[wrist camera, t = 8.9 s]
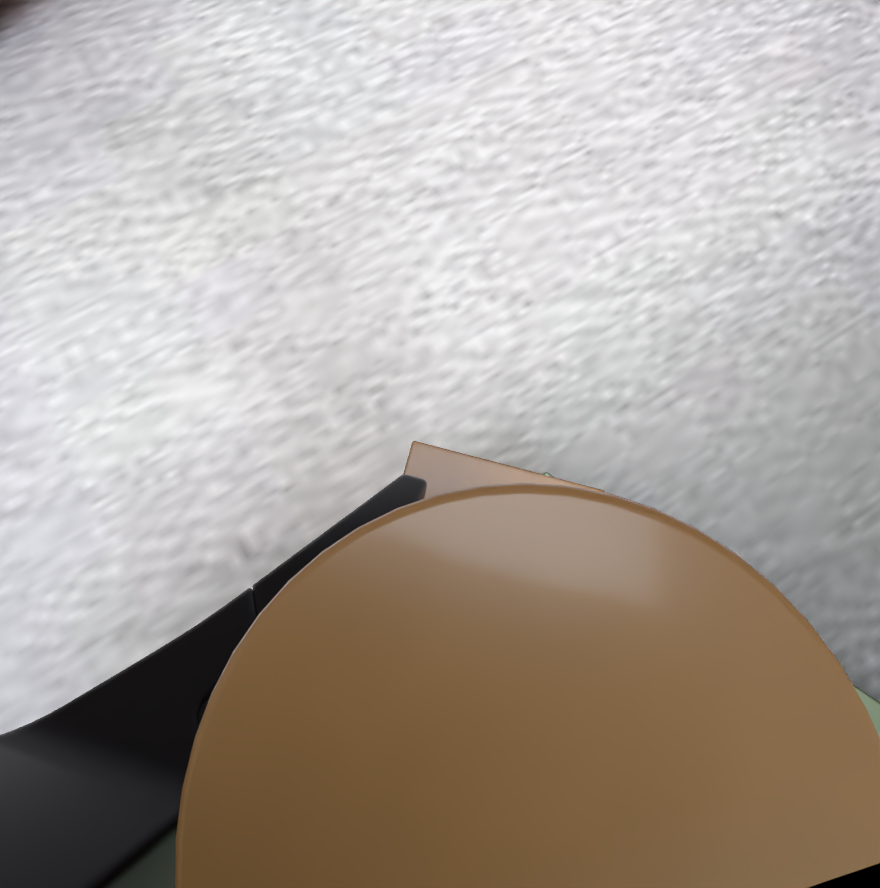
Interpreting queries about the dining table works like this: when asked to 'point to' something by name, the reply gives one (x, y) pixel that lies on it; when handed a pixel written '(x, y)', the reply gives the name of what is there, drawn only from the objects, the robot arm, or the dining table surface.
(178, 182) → the dining table surface
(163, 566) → the dining table surface
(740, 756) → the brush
